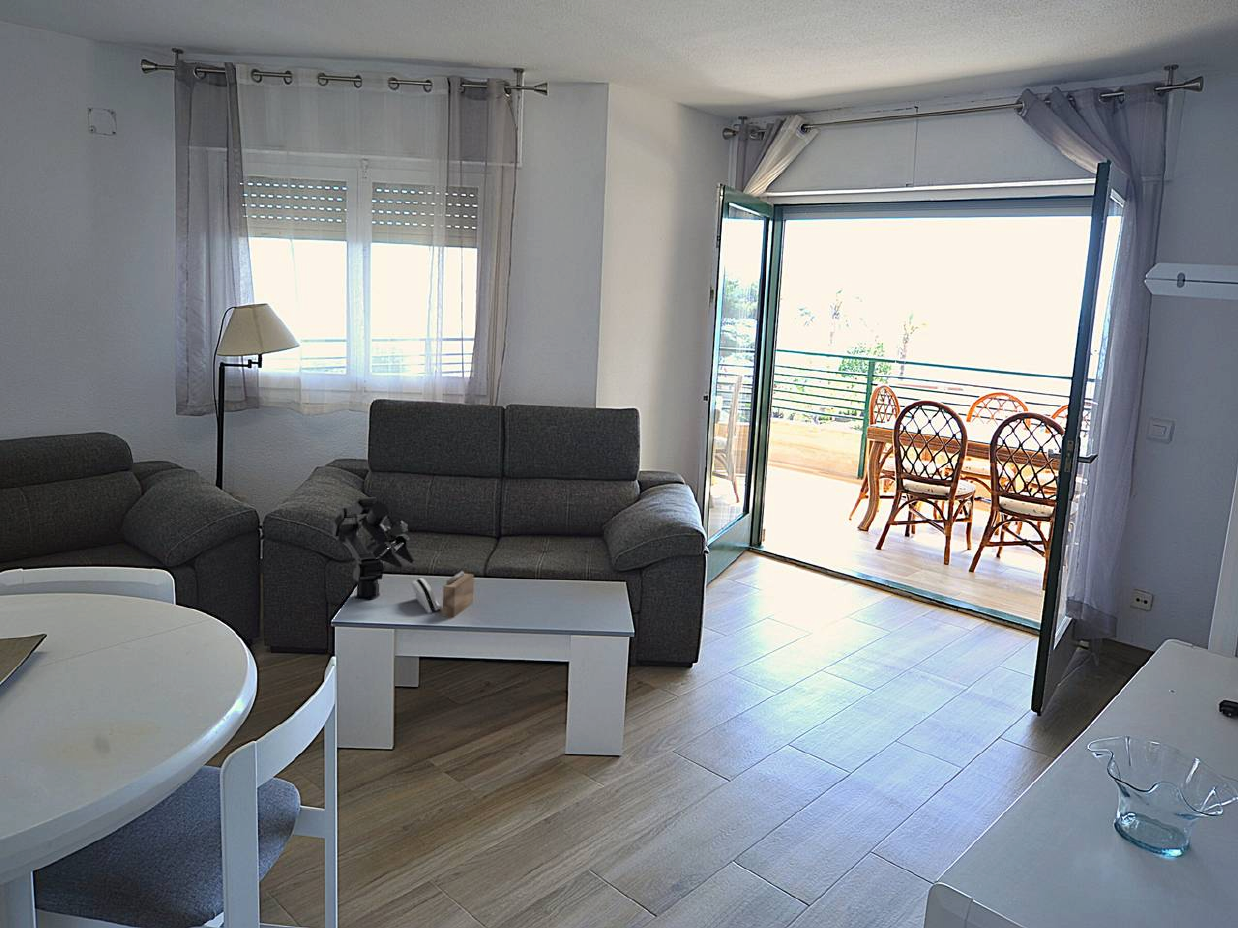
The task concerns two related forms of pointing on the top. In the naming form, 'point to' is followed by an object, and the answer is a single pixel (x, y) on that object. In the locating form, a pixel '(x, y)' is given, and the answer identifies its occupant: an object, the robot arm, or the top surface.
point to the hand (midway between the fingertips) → (407, 564)
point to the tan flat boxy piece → (457, 594)
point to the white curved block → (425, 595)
